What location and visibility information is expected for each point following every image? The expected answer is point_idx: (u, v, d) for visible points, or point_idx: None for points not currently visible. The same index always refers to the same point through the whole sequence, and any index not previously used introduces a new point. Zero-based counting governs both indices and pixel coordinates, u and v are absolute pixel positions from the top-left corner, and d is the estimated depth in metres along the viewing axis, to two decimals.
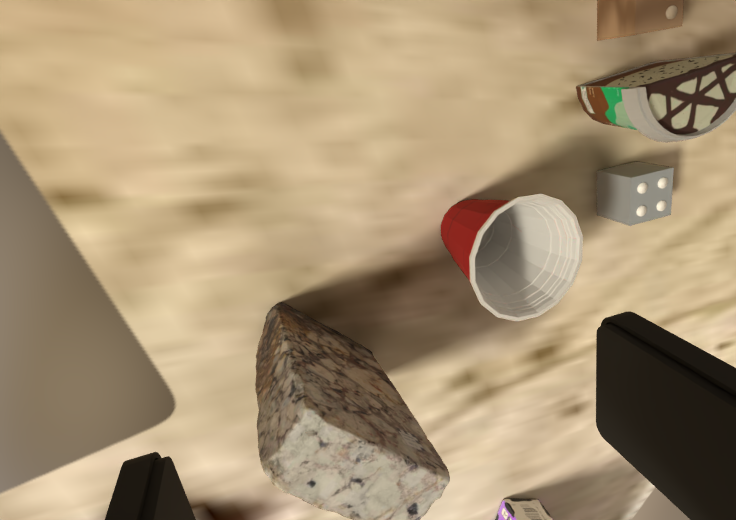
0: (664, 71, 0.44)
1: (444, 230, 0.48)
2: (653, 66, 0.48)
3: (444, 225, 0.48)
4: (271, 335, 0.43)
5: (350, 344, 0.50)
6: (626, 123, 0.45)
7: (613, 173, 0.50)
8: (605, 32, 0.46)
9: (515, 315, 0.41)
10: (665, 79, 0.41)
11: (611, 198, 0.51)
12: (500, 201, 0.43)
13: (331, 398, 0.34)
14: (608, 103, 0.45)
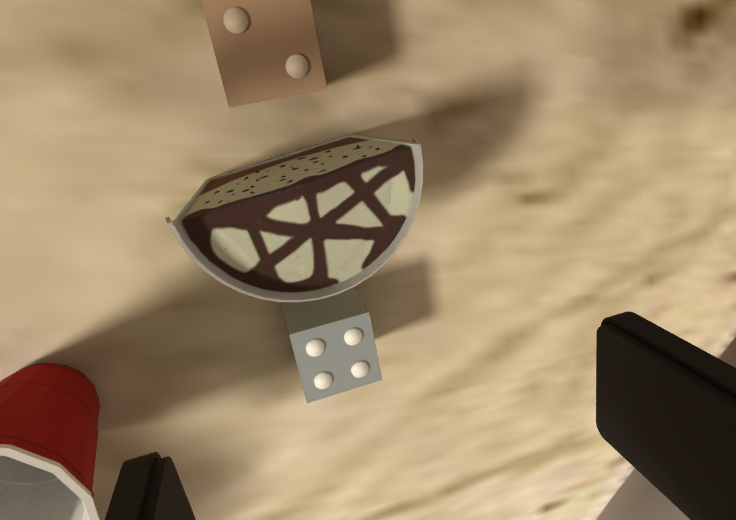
0: (294, 170, 0.25)
1: None
2: (326, 148, 0.29)
3: None
4: None
5: None
6: None
7: (287, 314, 0.31)
8: None
9: None
10: (241, 200, 0.21)
11: None
12: None
13: None
14: None
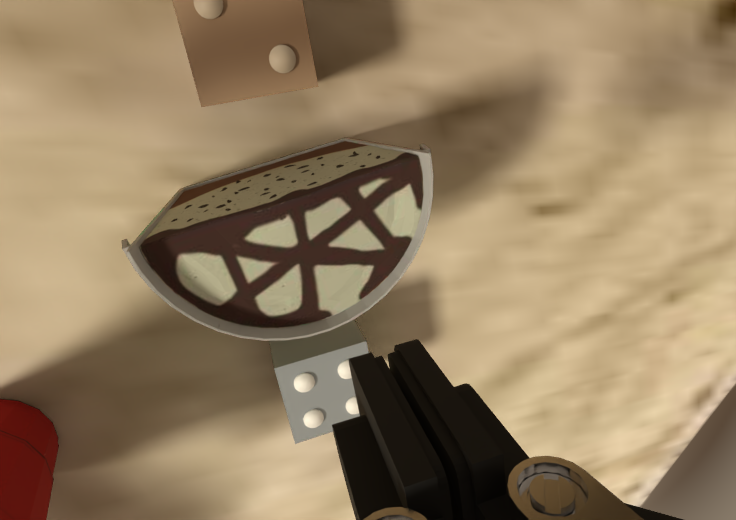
0: (280, 181, 0.21)
1: None
2: (317, 153, 0.25)
3: None
4: None
5: None
6: None
7: (273, 342, 0.27)
8: None
9: None
10: (214, 220, 0.18)
11: None
12: None
13: None
14: None
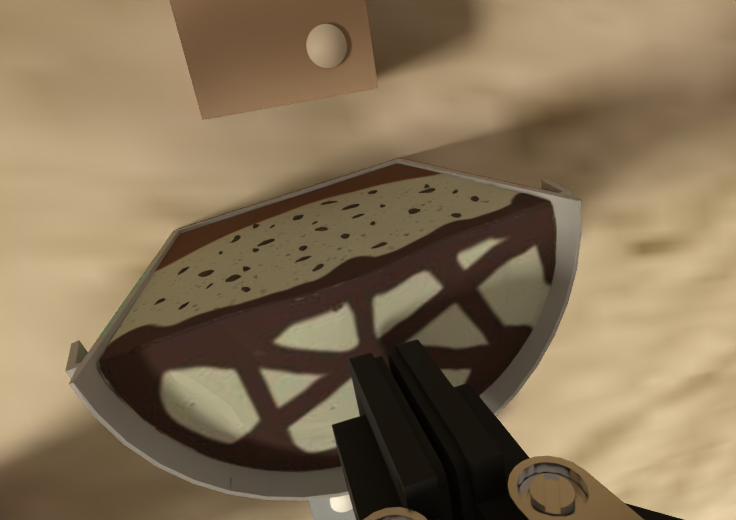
0: (322, 232, 0.14)
1: None
2: (365, 183, 0.18)
3: None
4: None
5: None
6: None
7: None
8: None
9: None
10: (224, 313, 0.11)
11: None
12: None
13: None
14: None
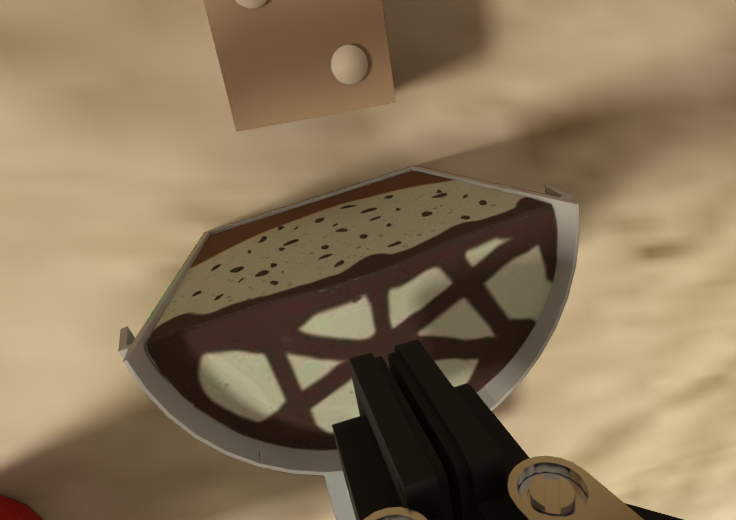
0: (342, 233, 0.15)
1: None
2: (382, 188, 0.19)
3: None
4: None
5: None
6: None
7: None
8: None
9: None
10: (255, 303, 0.12)
11: None
12: None
13: None
14: None
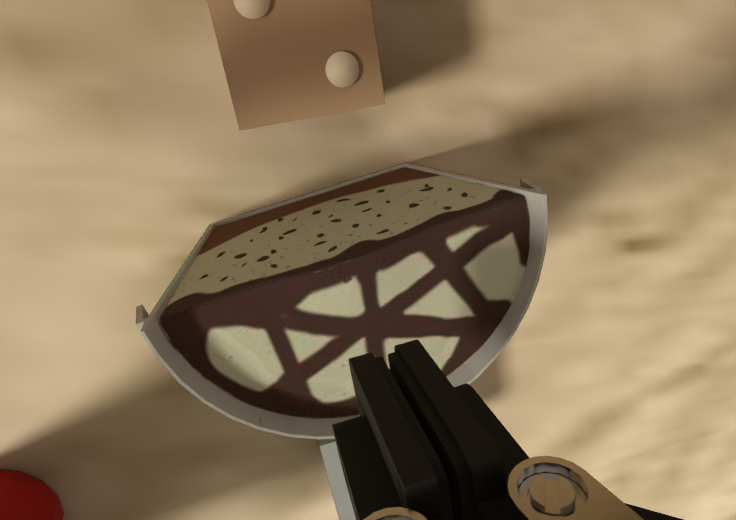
0: (336, 223, 0.17)
1: None
2: (375, 183, 0.20)
3: None
4: None
5: None
6: None
7: None
8: None
9: None
10: (257, 283, 0.13)
11: None
12: None
13: None
14: None
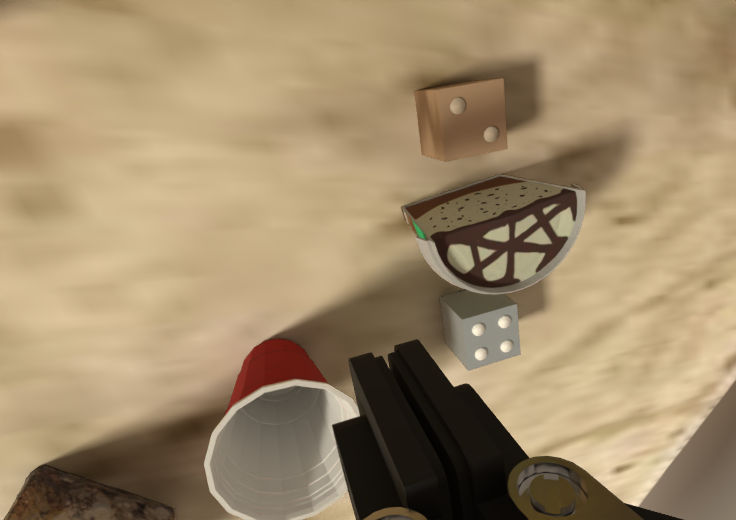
0: (485, 204, 0.36)
1: None
2: (490, 185, 0.40)
3: None
4: None
5: (139, 505, 0.43)
6: None
7: (451, 306, 0.42)
8: (426, 149, 0.38)
9: (283, 516, 0.33)
10: (468, 226, 0.33)
11: (452, 333, 0.43)
12: (277, 366, 0.35)
13: None
14: None
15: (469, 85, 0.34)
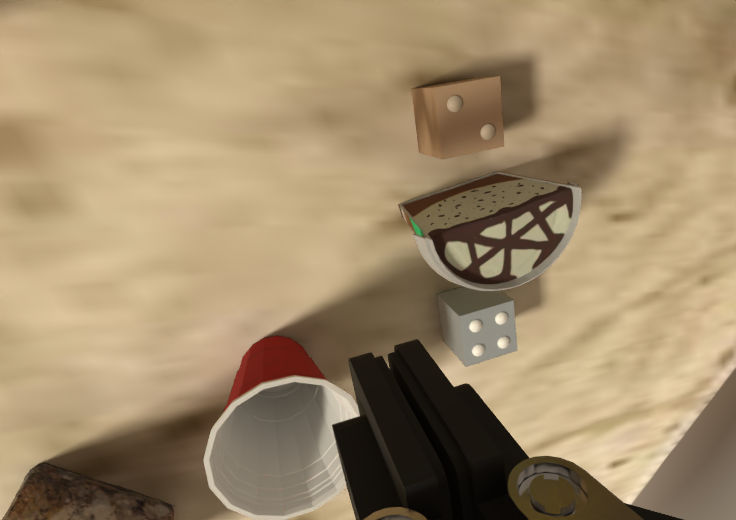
0: (482, 201, 0.36)
1: None
2: (487, 182, 0.40)
3: None
4: None
5: (139, 502, 0.43)
6: None
7: (448, 302, 0.42)
8: (423, 147, 0.39)
9: (282, 512, 0.33)
10: (465, 224, 0.33)
11: (450, 330, 0.43)
12: (276, 363, 0.35)
13: None
14: None
15: (466, 83, 0.34)
